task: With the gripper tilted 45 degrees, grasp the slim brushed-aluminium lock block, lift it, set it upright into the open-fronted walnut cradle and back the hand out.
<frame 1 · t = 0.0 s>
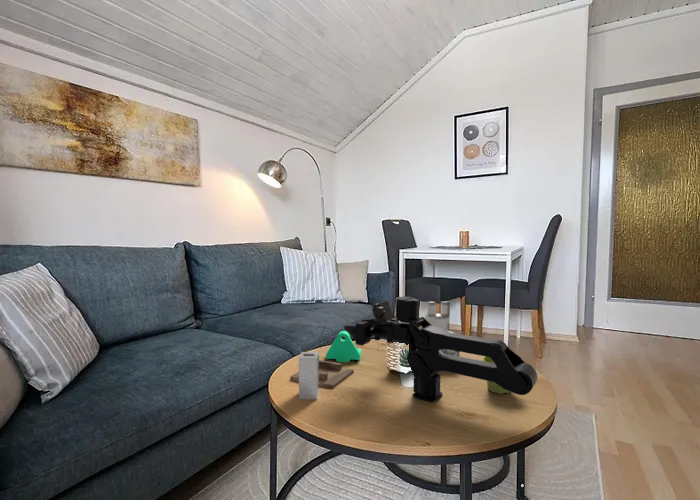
hand: (353, 324, 121), 17 cm above the table, tool horizontal, fingers open, 9 cm apart
small box: (406, 368, 129), on the table
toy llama: (442, 361, 136), on the table
plant pot: (498, 390, 111), on the table
cradle: (322, 376, 122), on the table
lock block: (309, 395, 108), on the table
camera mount: (344, 359, 139), on the table
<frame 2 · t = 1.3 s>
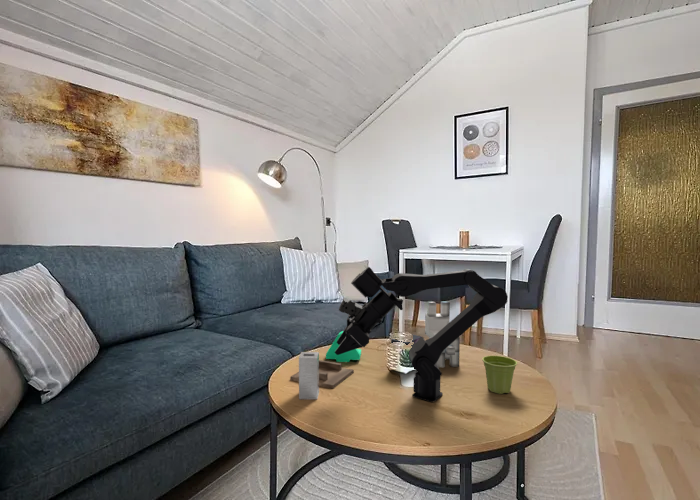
hand: (336, 348, 107), 13 cm above the table, tool tilted 45°, fingers open, 9 cm apart
nothing on the table moved.
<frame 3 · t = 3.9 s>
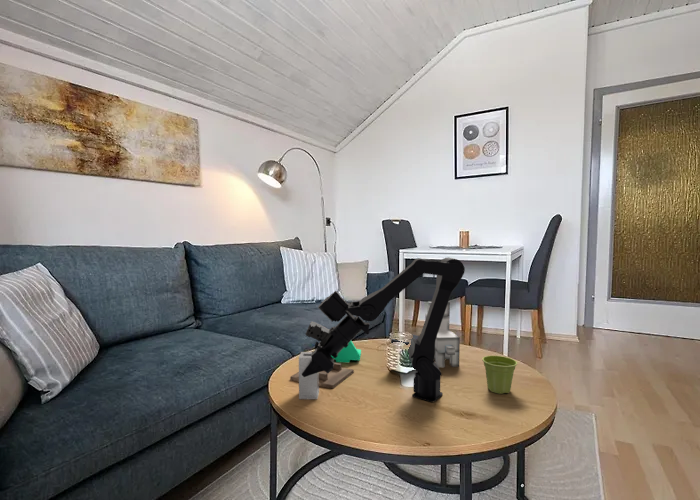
hand: (304, 372, 107), 7 cm above the table, tool tilted 45°, fingers closed on lock block, 5 cm apart
lock block: (309, 395, 108), on the table, touching gripper
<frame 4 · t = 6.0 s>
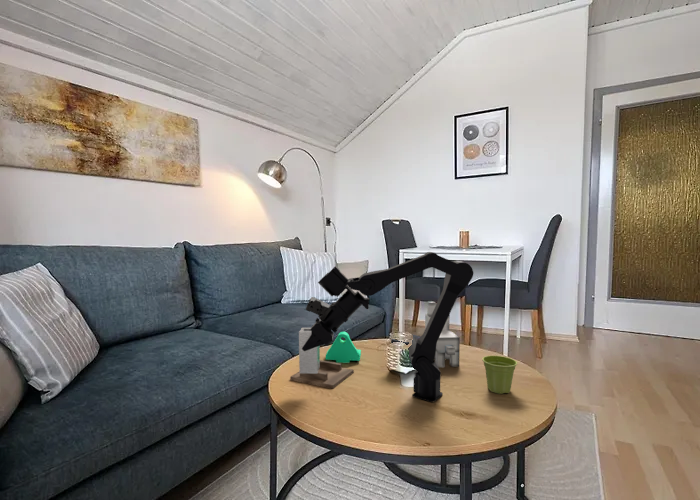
hand: (304, 347, 108), 13 cm above the table, tool tilted 45°, fingers closed on lock block, 5 cm apart
lock block: (309, 370, 108), point 7 cm above the table, touching gripper
when the fingers open (9 cm above the table, at t = 8.3 s): lock block drops 1 cm, resting on cradle.
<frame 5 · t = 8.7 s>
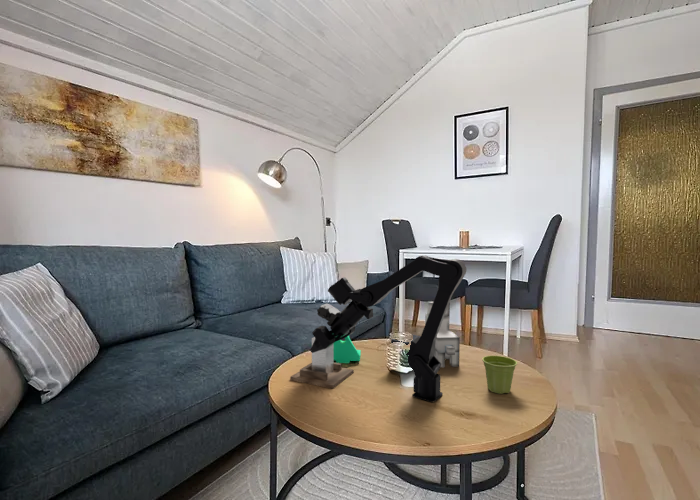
hand: (318, 347, 122), 9 cm above the table, tool tilted 45°, fingers open, 9 cm apart
lock block: (322, 373, 122), point 1 cm above the table, touching cradle
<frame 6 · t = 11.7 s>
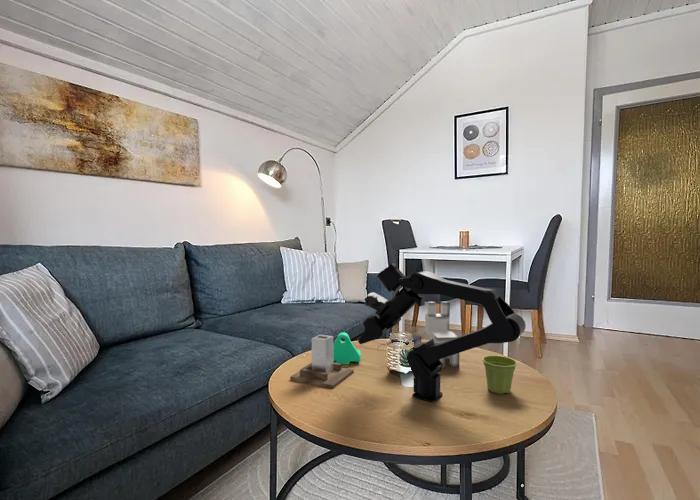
hand: (365, 338, 116), 14 cm above the table, tool tilted 45°, fingers open, 9 cm apart
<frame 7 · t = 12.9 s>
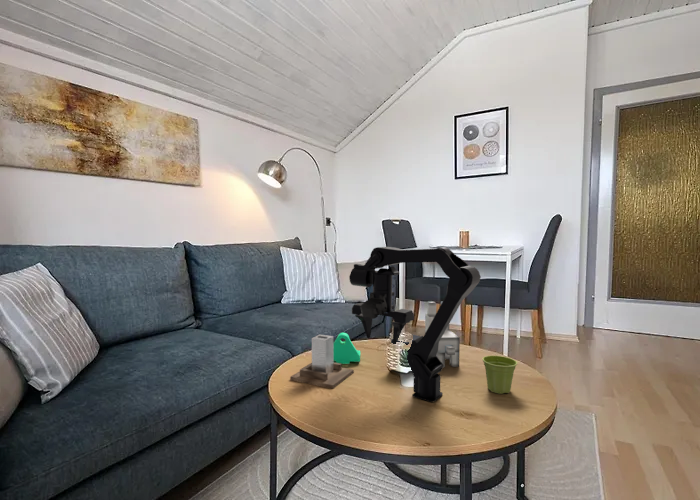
hand: (381, 340, 115), 13 cm above the table, tool pointing down, fingers open, 9 cm apart
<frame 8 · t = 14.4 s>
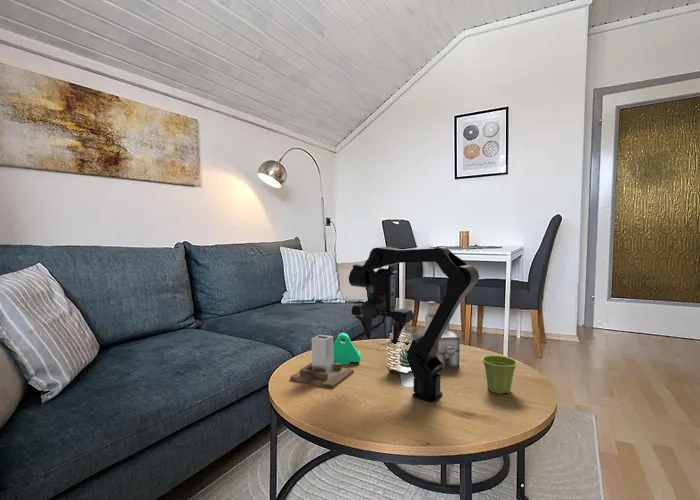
hand: (381, 340, 115), 13 cm above the table, tool pointing down, fingers open, 9 cm apart
at the end: lock block 0.0 cm off-centre on the cradle, point 1.0 cm above the cradle's base; lock block tilted 0°; the gripper is holding nothing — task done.
